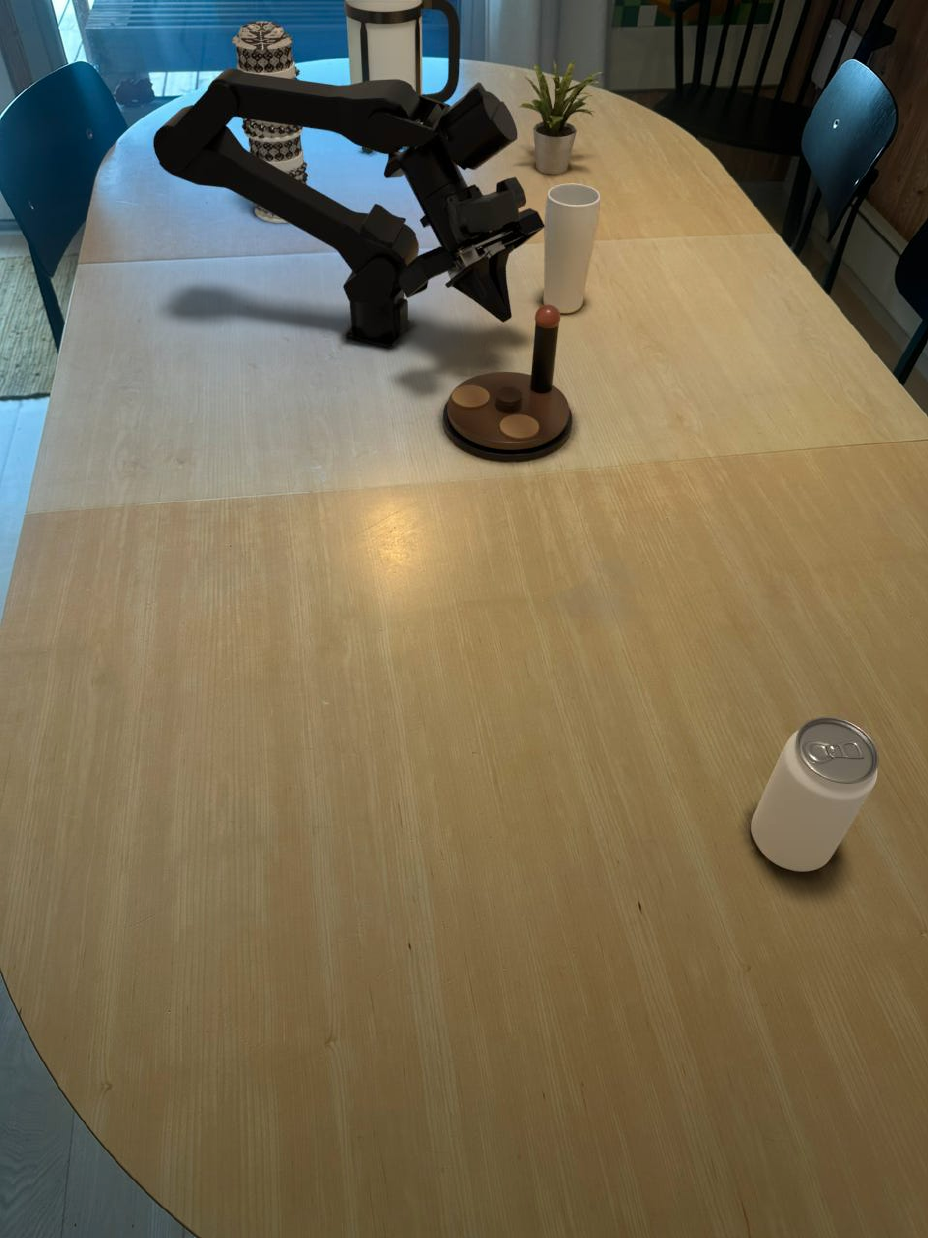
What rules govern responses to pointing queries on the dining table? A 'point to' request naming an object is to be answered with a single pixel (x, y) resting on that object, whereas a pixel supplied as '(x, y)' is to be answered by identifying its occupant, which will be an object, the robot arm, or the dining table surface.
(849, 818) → the can
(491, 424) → the turntable with crank handle
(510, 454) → the base
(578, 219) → the drinking glass
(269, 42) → the decorative candle
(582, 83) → the house plant
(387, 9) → the coffee press
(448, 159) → the robot arm
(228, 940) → the dining table surface
